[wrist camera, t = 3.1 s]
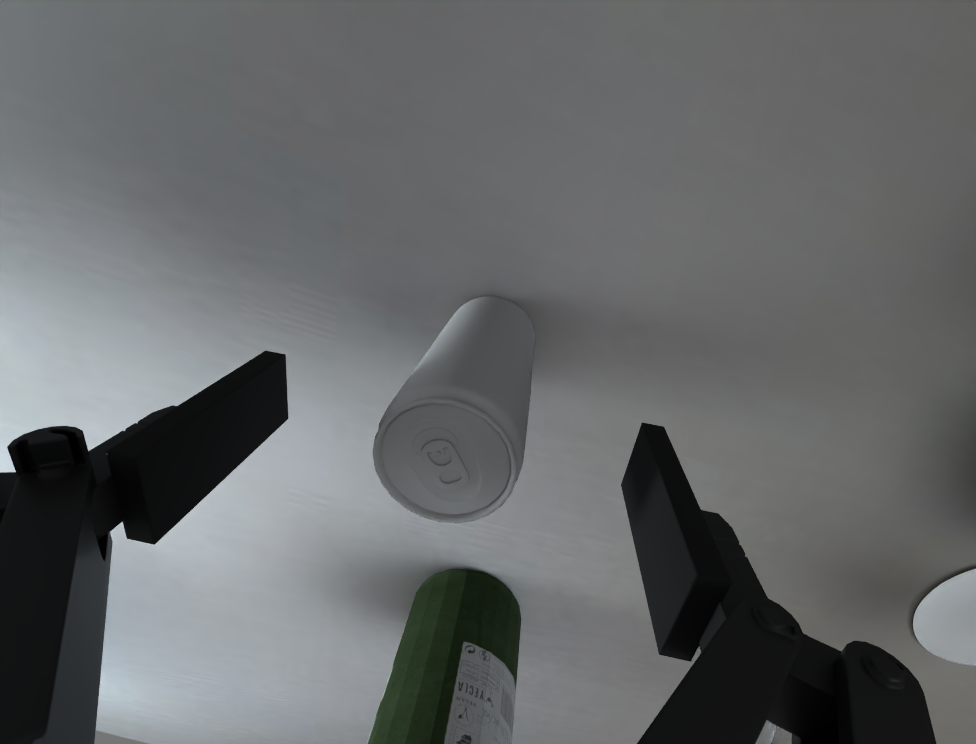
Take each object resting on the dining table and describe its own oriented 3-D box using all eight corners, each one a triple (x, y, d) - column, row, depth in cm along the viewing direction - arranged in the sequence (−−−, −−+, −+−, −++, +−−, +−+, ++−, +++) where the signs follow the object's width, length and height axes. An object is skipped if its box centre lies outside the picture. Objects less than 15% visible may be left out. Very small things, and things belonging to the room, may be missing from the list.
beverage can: (517, 279, 23) (483, 373, 13) (549, 360, 25) (545, 507, 14) (434, 312, 25) (340, 422, 14) (470, 387, 26) (410, 540, 15)
